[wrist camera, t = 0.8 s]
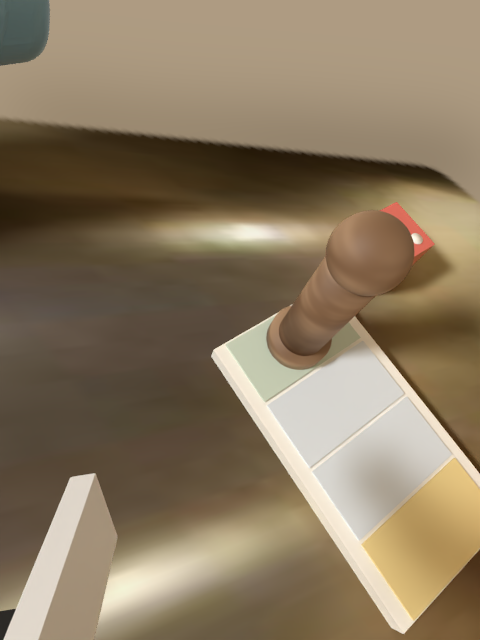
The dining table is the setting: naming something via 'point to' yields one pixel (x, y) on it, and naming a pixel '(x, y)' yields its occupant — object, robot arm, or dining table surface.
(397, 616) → the board
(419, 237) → the die
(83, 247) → the dining table surface
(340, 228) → the pawn
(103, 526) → the robot arm
